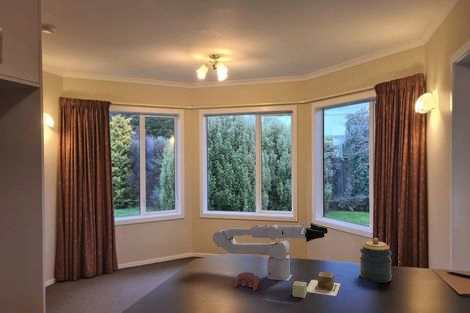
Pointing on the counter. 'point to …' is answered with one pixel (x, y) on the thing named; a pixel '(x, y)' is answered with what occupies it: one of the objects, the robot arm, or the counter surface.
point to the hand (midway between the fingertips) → (325, 232)
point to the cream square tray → (314, 289)
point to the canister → (375, 261)
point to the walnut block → (326, 280)
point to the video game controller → (247, 276)
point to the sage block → (299, 289)
